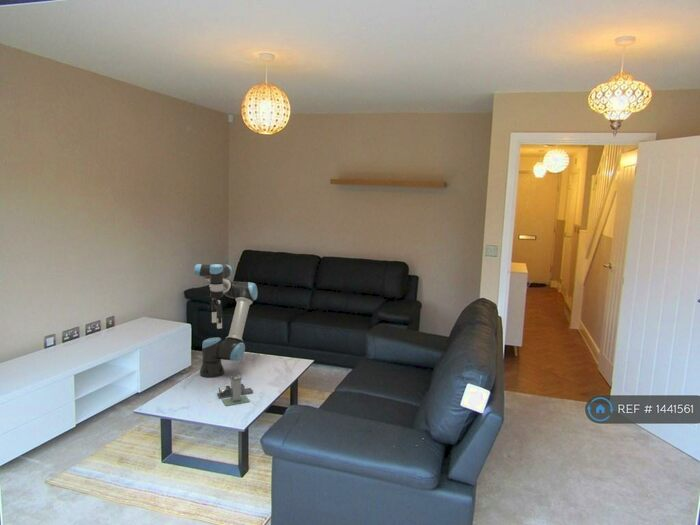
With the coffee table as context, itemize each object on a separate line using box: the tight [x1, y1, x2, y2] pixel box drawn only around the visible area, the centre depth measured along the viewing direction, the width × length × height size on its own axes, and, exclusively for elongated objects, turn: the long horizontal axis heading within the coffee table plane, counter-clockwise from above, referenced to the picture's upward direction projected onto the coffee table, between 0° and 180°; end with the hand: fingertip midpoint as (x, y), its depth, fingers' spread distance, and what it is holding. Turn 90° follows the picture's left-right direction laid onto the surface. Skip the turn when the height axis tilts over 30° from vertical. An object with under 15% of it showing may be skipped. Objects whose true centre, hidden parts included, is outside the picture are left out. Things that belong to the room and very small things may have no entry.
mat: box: [221, 394, 251, 407], centre depth 281 cm, size 9×14×1 cm, turn 118°
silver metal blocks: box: [216, 383, 254, 400], centre depth 289 cm, size 5×20×6 cm, turn 118°
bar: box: [229, 374, 242, 402], centre depth 280 cm, size 5×5×14 cm
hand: (216, 325), depth 294 cm, fingers open, 13 cm apart
